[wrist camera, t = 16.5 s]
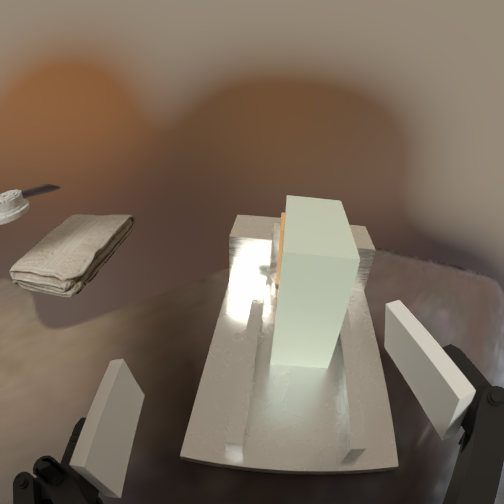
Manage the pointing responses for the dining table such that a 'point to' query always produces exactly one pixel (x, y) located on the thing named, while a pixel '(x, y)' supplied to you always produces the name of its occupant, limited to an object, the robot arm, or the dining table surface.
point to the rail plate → (288, 378)
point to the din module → (313, 282)
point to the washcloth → (71, 254)
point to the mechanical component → (12, 206)
